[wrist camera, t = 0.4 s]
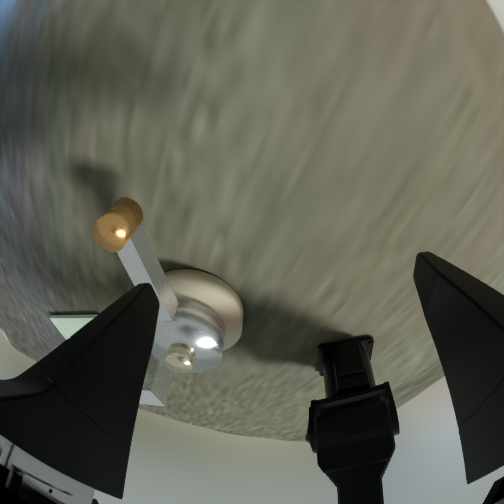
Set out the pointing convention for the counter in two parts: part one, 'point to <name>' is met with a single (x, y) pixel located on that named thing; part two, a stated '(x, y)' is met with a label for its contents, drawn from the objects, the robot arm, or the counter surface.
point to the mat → (70, 323)
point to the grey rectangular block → (156, 383)
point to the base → (210, 298)
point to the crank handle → (162, 294)
